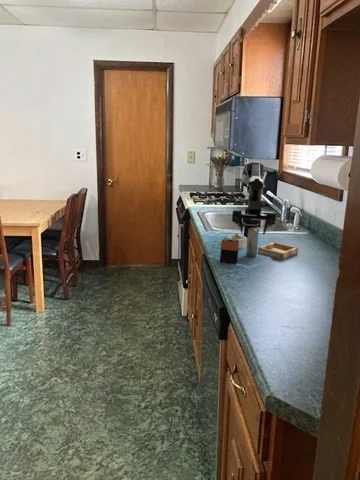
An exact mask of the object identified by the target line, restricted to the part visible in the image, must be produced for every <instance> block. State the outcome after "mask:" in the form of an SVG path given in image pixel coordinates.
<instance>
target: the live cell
mask: <svg viewBox="0 0 360 480" xmlns="http://www.w3.org/2000/svg"><path fill="white" fill-rule="evenodd" d="M259 232H260V231H259V228H257V227H256V228H249V229H248V237H247V241H246V248H245V249H246V251H245V252H246V253H245V257H247V258H257V253H258V241H259Z"/></svg>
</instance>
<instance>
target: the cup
mask: <svg viewBox="0 0 360 480" xmlns="http://www.w3.org/2000/svg"><path fill="white" fill-rule="evenodd" d="M234 236H235V234H231V235H229V236H227V238H228V239H231V240H232V238H234ZM237 240H239V248H238V250H242V249H247V238H246V237H245V236H244V235H241V238H240V239H237Z"/></svg>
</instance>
